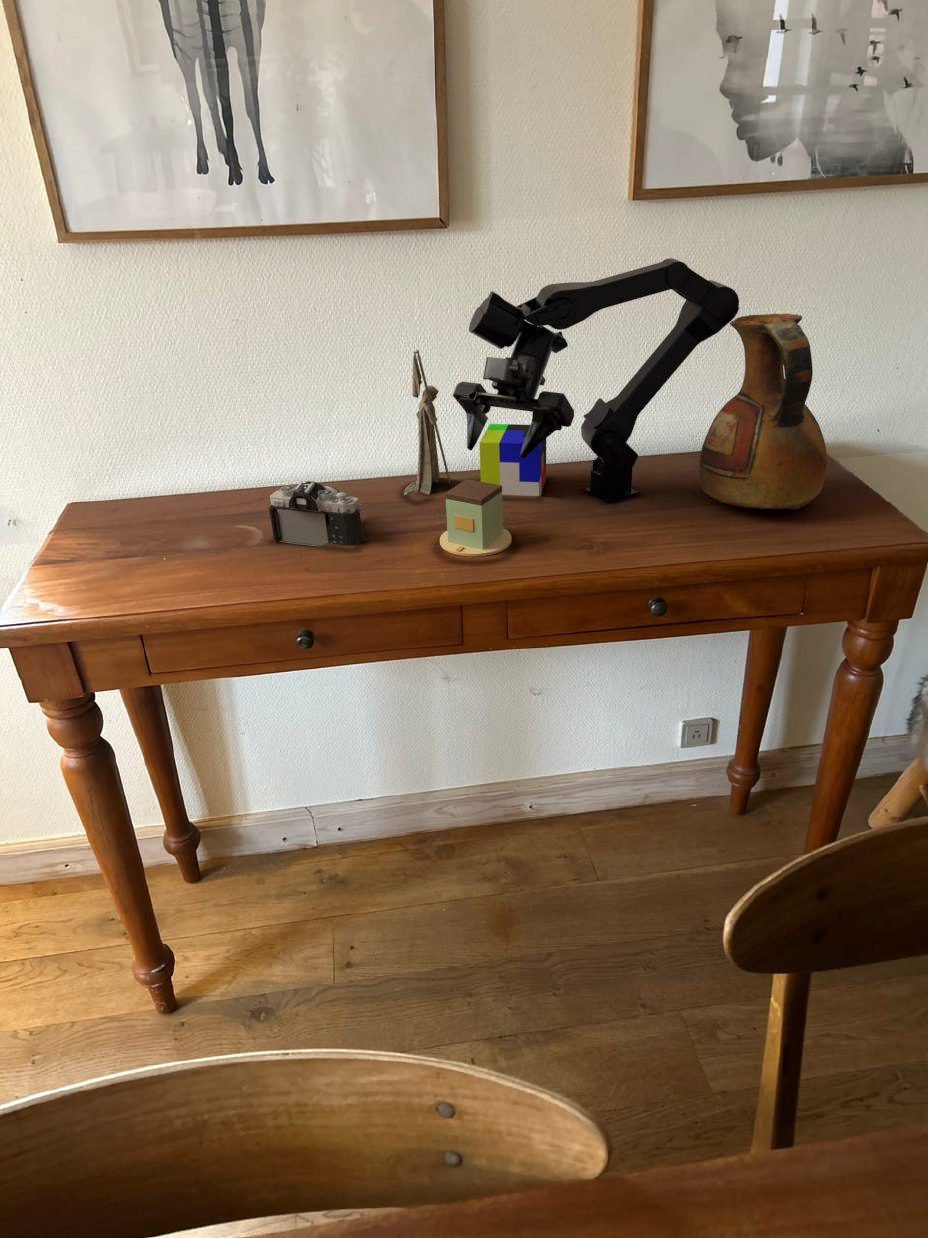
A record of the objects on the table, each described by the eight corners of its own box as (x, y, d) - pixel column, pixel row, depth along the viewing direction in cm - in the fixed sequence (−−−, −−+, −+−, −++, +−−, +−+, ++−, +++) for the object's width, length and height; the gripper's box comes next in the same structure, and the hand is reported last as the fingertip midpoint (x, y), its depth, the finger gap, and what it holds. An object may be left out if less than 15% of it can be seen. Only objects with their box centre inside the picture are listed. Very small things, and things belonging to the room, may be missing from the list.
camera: (379, 531, 144) (374, 472, 139) (355, 555, 137) (349, 493, 132) (294, 521, 149) (285, 464, 144) (266, 544, 141) (257, 484, 136)
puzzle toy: (538, 500, 152) (539, 444, 147) (481, 498, 154) (479, 442, 149) (546, 479, 161) (546, 425, 156) (491, 477, 163) (489, 423, 158)
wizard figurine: (454, 500, 154) (447, 353, 141) (405, 504, 153) (393, 356, 141) (449, 479, 163) (442, 338, 150) (402, 482, 162) (391, 342, 150)
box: (463, 521, 144) (461, 471, 140) (524, 534, 139) (523, 482, 135) (426, 547, 136) (422, 495, 132) (489, 562, 131) (487, 508, 127)
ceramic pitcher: (771, 472, 159) (796, 297, 144) (847, 514, 143) (884, 320, 128) (674, 489, 154) (689, 309, 139) (740, 534, 138) (765, 335, 123)
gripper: (455, 328, 136) (420, 420, 134) (566, 338, 128) (531, 436, 125) (483, 367, 146) (451, 454, 143) (588, 379, 137) (556, 471, 135)
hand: (495, 453), depth 136 cm, fingers open, 9 cm apart
